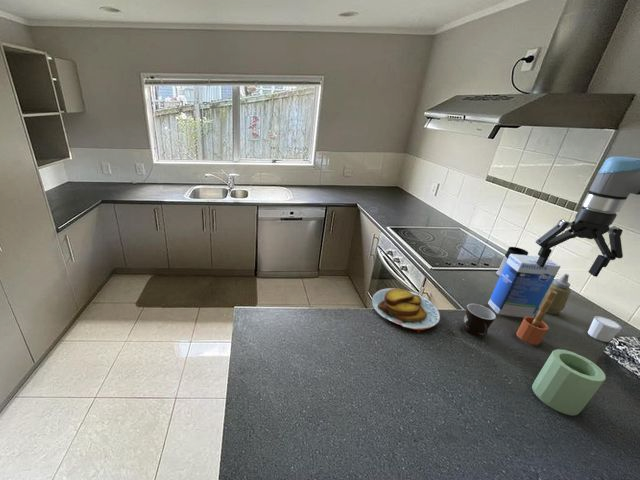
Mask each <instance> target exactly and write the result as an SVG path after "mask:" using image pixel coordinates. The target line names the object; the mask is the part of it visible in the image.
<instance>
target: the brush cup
mask: <svg viewBox="0 0 640 480" xmlns="http://www.w3.org/2000/svg"><path fill="white" fill-rule="evenodd" d="M534 319H535V317H528V316H527V317H524V318H523V319H522V321H521V323H520V325H519V327H518V329H517V331H516V333H515V334H516V336H517V337H518V339H520V340H521V341H523V342H525V343H527V344H529V345H532V346H533V345H534V346H539V345H540V344H541V343H542V341H543V339H544V337H545V335H546V334H547V332H548V331H549V329H550V327H549V326H548V324H547V323H546V322H545V321H543V320H542V321H541V323H540V324H539V326H538V327H535V326H533V325H531V324H532V322H533V320H534Z"/></svg>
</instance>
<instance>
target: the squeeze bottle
mask: <svg viewBox="0 0 640 480" xmlns="http://www.w3.org/2000/svg"><path fill="white" fill-rule="evenodd" d="M569 277H570V275H569V274H567V273H564V274H563V275H562V276H561V277H560V278H554V280H553V281H552V283H551V285H550V287H549V289H548V291H547V292H546V294H545V296H544V298H543V300H542V302H541V304H540V305H539V307H538V309H540V308H541V306H542V304H543V302H544V300H545V298H546V297H547V295H548V293H549V291H550V290H553V291H556V292H557V294H556V296H555V298H554V299H553V301H552V303H551V305H550V307H549V308H548V310H547V312H546V314H550V315H556V314H558V313H559V312H561V311H563V310H564V309H565V308H566V305H567V303H568V299H569V297H570V295H571V289H570V287H571V283H570V282H569Z"/></svg>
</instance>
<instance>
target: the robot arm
mask: <svg viewBox="0 0 640 480" xmlns="http://www.w3.org/2000/svg"><path fill="white" fill-rule="evenodd" d="M630 194H632V195H636V196H640V158H637V157H632V156H631V157H630V156H616V155H615V156H609V157H608V158H606V159H605V160H604V162H603V164H602V166H601V167H600V169H599V170H598V172H597V173H596V175H595V178H594V180H593V181H592V184H591V185H590V188H589V189H588V191H587V194H586V196H585V197H584V199H583V201H582V203H581V205H582V206H580V207H579V209H578V210H577V213H576V214H575V218H574V220H573V221H566V220H565V219H560V220H558V222H557V224H556V225H555V226H553V227H552V228H551V229H550V230H548V231H547V232H546V233H544V234H543V235H542V236H540V237H539V238H538V239H536V240H535V244H537V245H538V246H539V247H540V248H539V251H538V253H537V256H539V259H538V261H537V264H538V265H539V266H540V267H544V265H545V263H546V261H547V259H549V258H550V255H551V254H552V252H553V250H552V248H554V247H556V246H558V245H560V244H563V243H564V242H567V241H569V240H571V239H575V238H579V239H588V240H593V241H595V244H596V245H597V247H598V249H599V250H600V252H601V254H598V255H597V257H596V258H595V260H594V261H593V263H592V264H591V267H590V268H589V269H588V274H590V275H591V276H593V277H595V278H598V276H599V274H600V273H601V271H602V269H603V268H607V266H608V265H609V263H610V262H611V261H615V260H616V259H623V256H624V254H623V247H622V239H621V238H622V237H621V236H622V234H623V231H624V230H623V229H622V228H620V227H618V226H616V225H613V223H614V221H615V220H616V219H617V217H618V214H617V213H620V212H621V209H622V208H623V206H624V204H625V202H626V201H627V199H628V197H629V196H630ZM611 225H613V226H611ZM566 229H567V230H566ZM607 233H608V238H609V245H608V244H607V242H606V238H604V234H605V235H606V234H607ZM609 246H610V248H609Z"/></svg>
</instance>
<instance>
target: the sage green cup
mask: <svg viewBox="0 0 640 480" xmlns="http://www.w3.org/2000/svg"><path fill="white" fill-rule="evenodd" d="M606 377H607V375H606V374H605V372H604V371H603V369H601V367H599V366H598V365H597V364H596V363H595V362H593V361H592V360H590V359H588V358H586V357H584V356H583V355H580V354H578V353H575V352H574V351H571V350H570V351H569V350H567V349H559V348H558V349H554V350H552V351H551V353H550V355H549V357H548V358H547V360H546V361H545V362H544V365H543V366H542V368H541V369H540V371H539V373H538V374H537V376H536V378H535V379H534V381H533V383H532V385H531V389H532V391H533V393H534V394H535V396H536V397H537V398H538V399H539V400H540V401H541V402H542V403H543V404H545V405H547V406H548V407H549V408H551V409H552V410H555V411H556V412H558V413H561V414H564V415H567V416H578V415H579V414H580V413H581V412H582V411H583V410H584V409H585V407H586V406H587V405H588V403H589V402H590V401H591V399H592V398H593V397H594V396H595V394H596V393H597V392H598V390H599V389H600V387H601V386H602V385H603V384H604V382H605V381H606Z"/></svg>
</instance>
